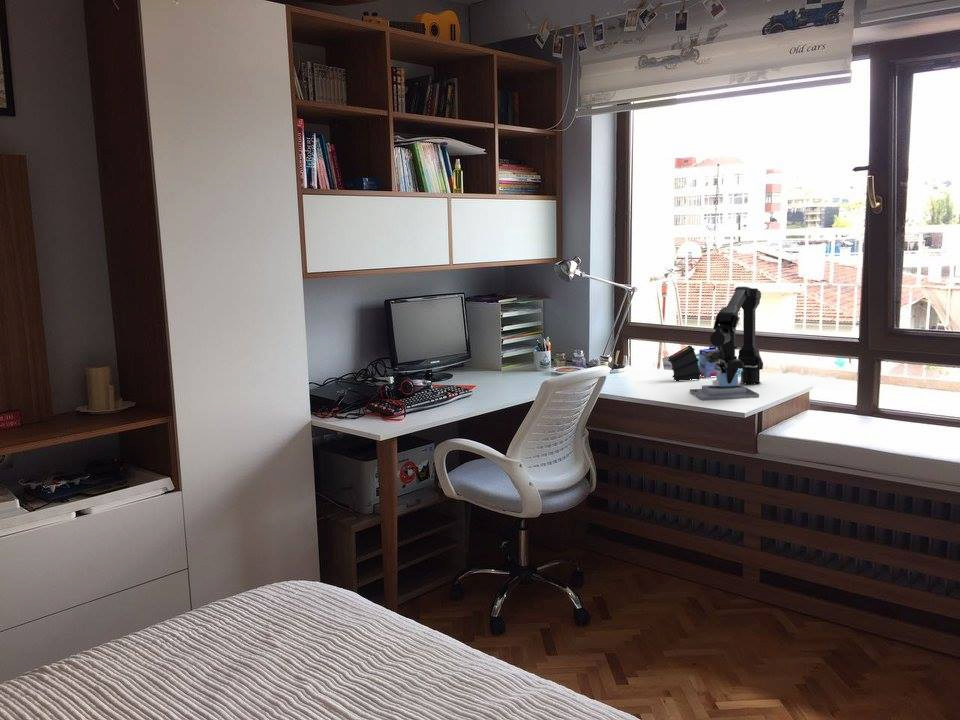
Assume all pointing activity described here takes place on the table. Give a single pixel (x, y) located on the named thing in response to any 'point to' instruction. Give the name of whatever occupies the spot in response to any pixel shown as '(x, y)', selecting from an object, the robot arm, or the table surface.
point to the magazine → (685, 364)
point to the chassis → (723, 392)
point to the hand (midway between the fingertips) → (727, 382)
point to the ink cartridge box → (706, 367)
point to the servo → (725, 380)
